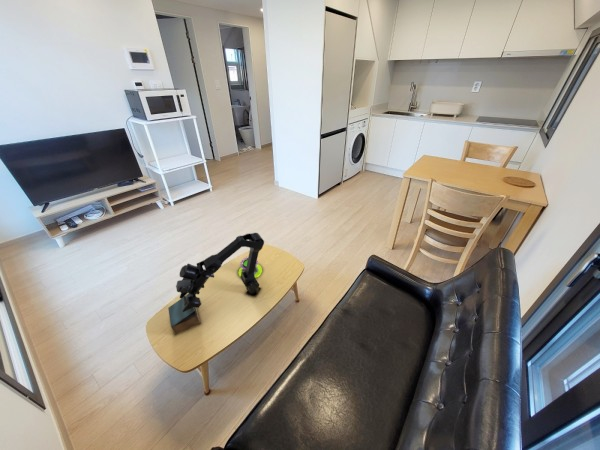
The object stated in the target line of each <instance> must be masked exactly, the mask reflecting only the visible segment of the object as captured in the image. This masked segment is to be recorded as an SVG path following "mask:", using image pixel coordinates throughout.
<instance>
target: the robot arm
mask: <svg viewBox="0 0 600 450" xmlns="http://www.w3.org/2000/svg"><path fill="white" fill-rule="evenodd" d="M264 245H265V240H264V239H263V237H262V236H261V234H259V232H252V233H251V232H250V233H245V234H243V235H237V236H236V238H235V239H234V240H232V241H231V242H230V243H228V244H227V245H226V246H225V247H223V249H221V250H220V251H219V252H218V253H216V254H212V255H209V256H208V257H206V258H205V259H203V260H201V261H199V262H197V263H196V265H194V264H191V263H187V264H185V265H183V266H181V268H180V270H179V277H180V278H182V279H179V280H177V281H176V284H175V288H176V292H177V293H180V295H179V299H181V298H183V296H186V295H187V294H189V293H190V297H188V298H187V300H186V305H185V307H184V308H183V310H182V312H185V311H187V310H189V309H191V308H193V307H196V309H199V308H200V307H201V306H202V301H201V299H200V297H197V295H200V293H201V289H204V288H205V284H206V283H207V281H208V280H209V279H210V278H212V279H213V278H215V273H217V272H218V271H219V270H220V268H221V267H222V265H223V263H225V262H226V260H228V259H229V258H230V257H231V256H232V255H234V254H235V253H236V252H237V251H239V250H240V249H241V248H244V247H245V248H249V252H248V256H249V257H248V262H247V266H246V270H245V271H244V272H241V276H239V278H240V279H241V281H242V284H243V286H244V287H245V288H246V292H245V294H246V295H249V296H252V297H254V298H255V297H257V295H258V294H259V293H260V291H261V287H260V284H259V281H258V279H257V278H255V276H254V271H255V266H256V262H257V261H258V257H259V253H260V251H262V249H263V247H264Z"/></svg>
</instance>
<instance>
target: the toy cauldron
mask: <svg viewBox="0 0 600 450" xmlns="http://www.w3.org/2000/svg"><path fill="white" fill-rule="evenodd" d="M248 257H249V255H247V256H246V257H244V258H243V259H242V260H241V261H239V266H240V268H239V270H238V276H239V277H240V276H241V272H244V271H245V270H246V266H247V262H248ZM262 272H263V268H262V266H261V265H260V264H259V260H257V262H256V266H255V271H254V276H255V278H256V279H257V278H259V277H260V276H261V274H262Z"/></svg>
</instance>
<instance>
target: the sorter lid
mask: <svg viewBox="0 0 600 450" xmlns="http://www.w3.org/2000/svg"><path fill="white" fill-rule="evenodd" d="M188 297H190V293H187V294H186V295H185V296H183V298H179V300H177V301H176V302H174V303H173V304H171V305H170V306H169V307H168V308H167V309H168V316H169V323H170V328H172V327H173V326H174V325H176V324H177V323H178V322H180V321H181V320H183V319H184V318H185V317H187V316H188V315H190V314H191V313H192V312H194V311H195V309H194V307H193V308H191V309H189V310H187V311H185V312H182V310H183V308H184V307H185V305H186V300H187V298H188Z"/></svg>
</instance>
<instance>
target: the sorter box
mask: <svg viewBox="0 0 600 450" xmlns="http://www.w3.org/2000/svg"><path fill="white" fill-rule="evenodd" d="M194 309H195V311H194V312H192V313H191V314H190V315H188V316H187V317H185V318H184V319H183V320H181V321H180V322H178V323H177V324H176V325H174V326H173V327H171V329H172V331H173V333H174V335H179V334H182V333H183V332H185V331H188V330H190V329H192V328H194V327H197V326H199V325H201V319H200V315H199V312H198V308H196V307H194Z"/></svg>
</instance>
